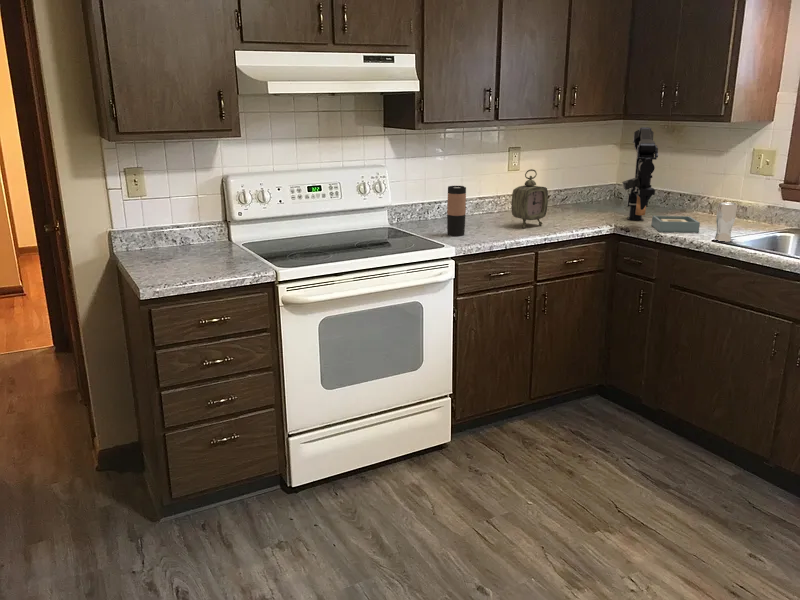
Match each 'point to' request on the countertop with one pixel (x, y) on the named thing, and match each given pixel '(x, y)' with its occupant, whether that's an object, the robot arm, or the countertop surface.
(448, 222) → the travel mug
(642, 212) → the peg
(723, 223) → the beer glass
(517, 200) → the tabletop clock
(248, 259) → the countertop surface
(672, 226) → the open box
